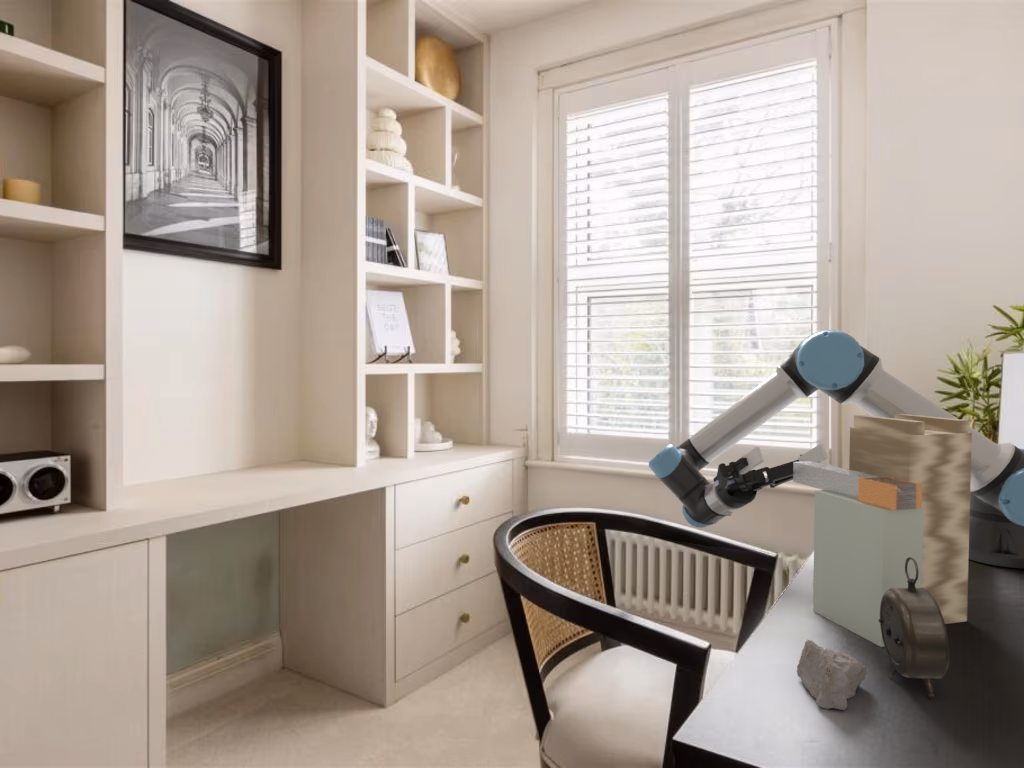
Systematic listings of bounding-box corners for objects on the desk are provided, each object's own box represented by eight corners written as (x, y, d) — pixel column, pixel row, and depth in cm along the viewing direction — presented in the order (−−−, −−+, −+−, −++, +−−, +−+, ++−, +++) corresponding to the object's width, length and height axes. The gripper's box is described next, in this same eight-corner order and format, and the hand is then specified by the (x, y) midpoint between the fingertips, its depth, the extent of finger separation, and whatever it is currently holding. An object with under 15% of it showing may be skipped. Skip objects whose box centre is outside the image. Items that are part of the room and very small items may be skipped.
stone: (880, 720, 75) (881, 671, 75) (804, 709, 78) (804, 661, 77) (862, 680, 85) (863, 636, 84) (795, 671, 87) (795, 629, 87)
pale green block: (848, 606, 109) (850, 488, 109) (920, 641, 96) (923, 506, 95) (813, 610, 108) (815, 490, 107) (881, 646, 94) (884, 509, 93)
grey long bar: (814, 480, 116) (815, 460, 115) (921, 507, 94) (922, 484, 94) (788, 482, 114) (788, 462, 114) (890, 510, 93) (890, 486, 93)
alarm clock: (951, 705, 78) (954, 572, 78) (902, 700, 79) (904, 569, 79) (914, 663, 89) (917, 546, 88) (871, 659, 90) (873, 544, 89)
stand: (903, 594, 115) (907, 413, 113) (966, 621, 103) (972, 420, 102) (846, 601, 112) (850, 415, 110) (905, 629, 100) (910, 422, 99)
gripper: (787, 505, 137) (856, 468, 119) (682, 513, 130) (738, 475, 112) (776, 471, 140) (841, 431, 122) (672, 477, 133) (725, 435, 115)
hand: (792, 452), depth 117 cm, fingers open, 13 cm apart
